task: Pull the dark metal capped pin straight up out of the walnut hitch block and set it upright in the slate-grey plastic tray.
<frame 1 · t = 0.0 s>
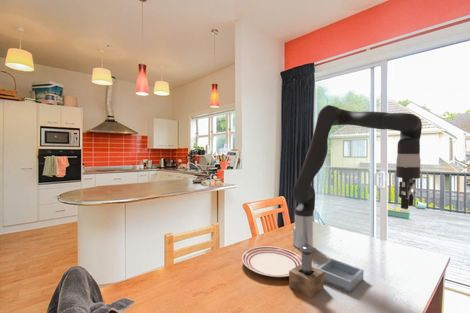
hand: (407, 206, 91), 29 cm above the table, fingers open, 8 cm apart
dinner plate: (272, 266, 103), on the table
hitch block: (306, 287, 86), on the table
pin: (306, 267, 86), in the hitch block
tray: (339, 279, 92), on the table
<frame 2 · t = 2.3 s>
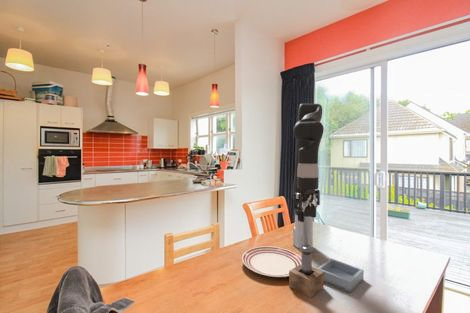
hand: (307, 219, 86), 26 cm above the table, fingers open, 8 cm apart
nothing on the table moved.
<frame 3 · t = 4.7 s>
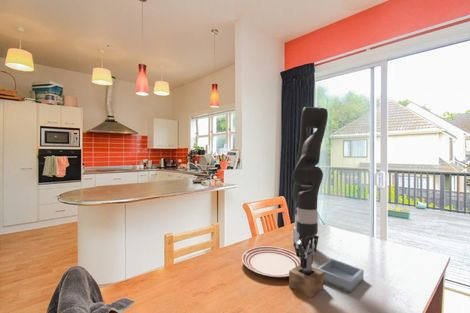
hand: (306, 265, 86), 8 cm above the table, fingers closed on pin, 3 cm apart
pin: (306, 267, 86), in the hitch block, touching gripper
everything else where it was.
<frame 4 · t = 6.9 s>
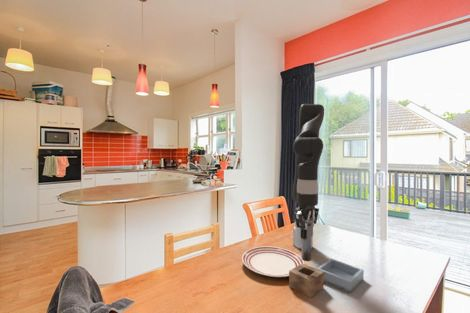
hand: (306, 237, 86), 19 cm above the table, fingers closed on pin, 3 cm apart
pin: (306, 239, 86), point 18 cm above the table, touching gripper
everything else where it was.
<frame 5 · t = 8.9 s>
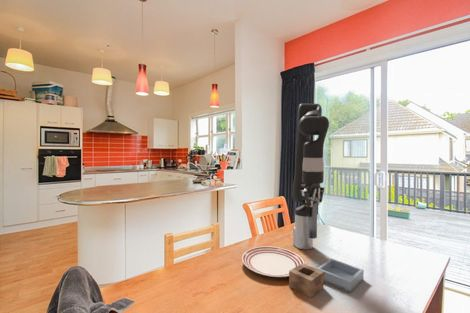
hand: (312, 215, 87), 27 cm above the table, fingers closed on pin, 3 cm apart
pin: (312, 217, 87), point 26 cm above the table, touching gripper
everything else where it was.
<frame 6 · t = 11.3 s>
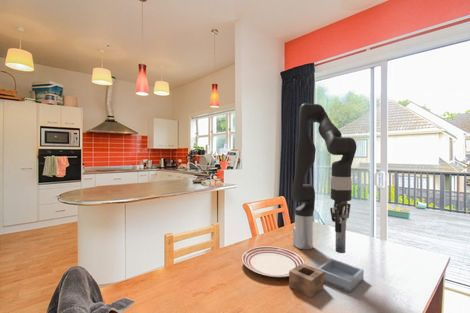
hand: (340, 230, 92), 19 cm above the table, fingers closed on pin, 3 cm apart
pin: (340, 232, 92), point 19 cm above the table, touching gripper
everything else where it was.
when the fingers open (11 cm above the table, at t = 13.3 s): pin moves 2 cm, resting on tray.
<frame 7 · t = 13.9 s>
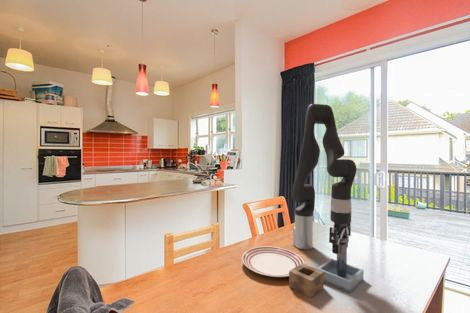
hand: (340, 250, 92), 12 cm above the table, fingers open, 8 cm apart
pin: (341, 256, 93), in the tray, point 8 cm above the table, touching gripper
everything else where it was.
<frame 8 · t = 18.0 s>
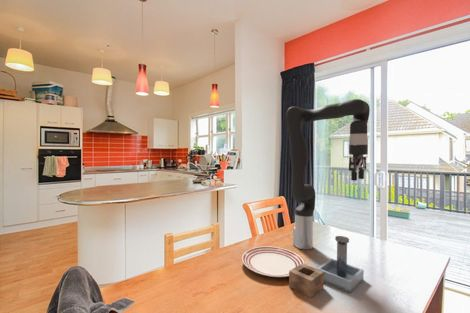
hand: (357, 179, 106), 38 cm above the table, fingers open, 8 cm apart
pin: (341, 256, 93), in the tray, point 8 cm above the table
everything else where it was.
at the end: pin inside the target area on the tray (1.7 cm from its centre), point 8.5 cm above the tray's base; the gripper is holding nothing; pin tilted 0° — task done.
